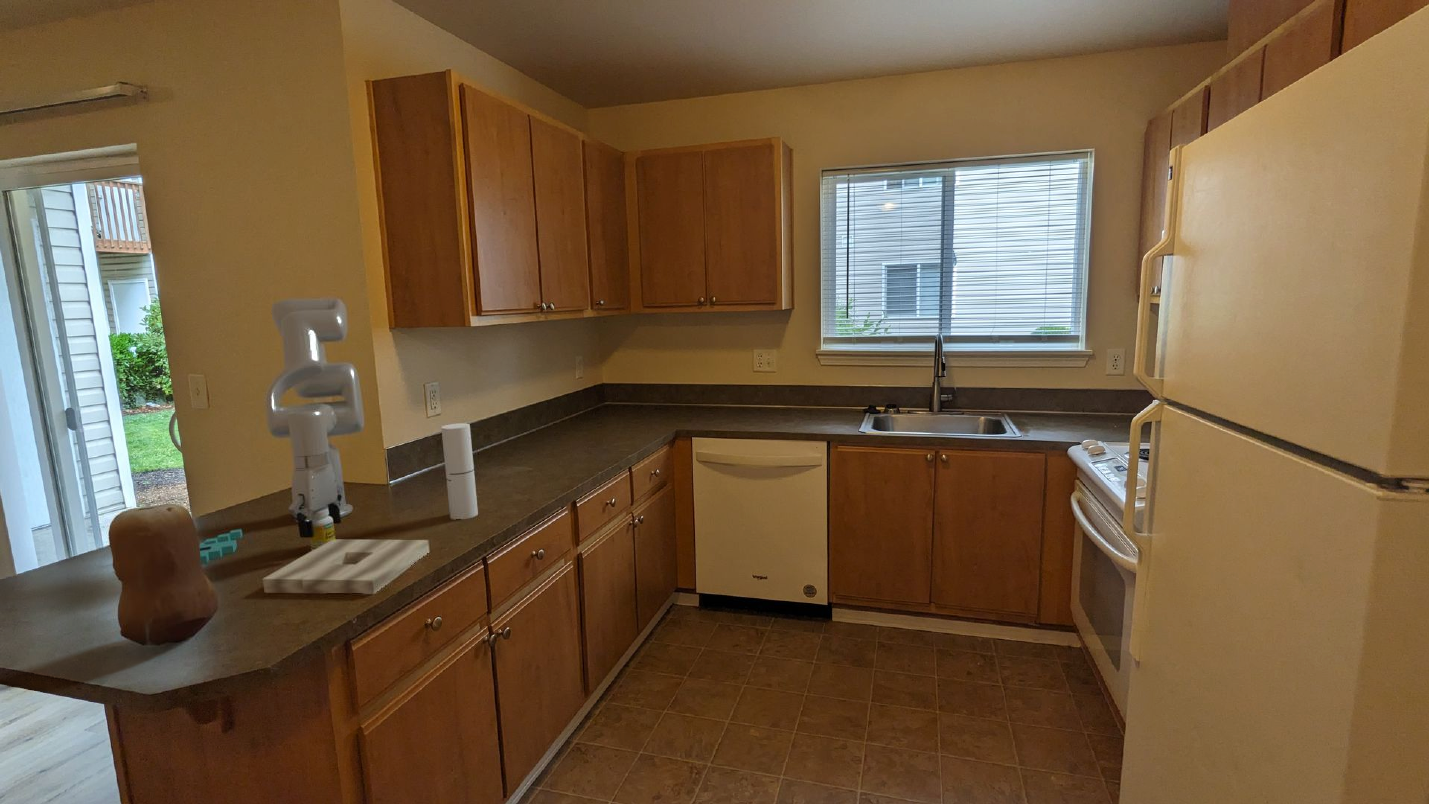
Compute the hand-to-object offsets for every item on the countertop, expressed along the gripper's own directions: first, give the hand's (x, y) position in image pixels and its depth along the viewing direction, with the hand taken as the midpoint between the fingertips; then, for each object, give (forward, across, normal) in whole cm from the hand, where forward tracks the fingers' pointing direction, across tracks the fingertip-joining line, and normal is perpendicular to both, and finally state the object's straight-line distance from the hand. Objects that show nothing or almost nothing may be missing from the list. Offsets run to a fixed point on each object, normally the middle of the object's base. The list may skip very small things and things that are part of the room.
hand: (321, 530), depth 161 cm
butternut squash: (+6, +42, +2) cm, 43 cm away
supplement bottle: (+5, 0, 0) cm, 5 cm away
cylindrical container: (+5, -24, +24) cm, 34 cm away
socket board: (+5, +12, +16) cm, 21 cm away
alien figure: (+5, +6, -31) cm, 32 cm away
